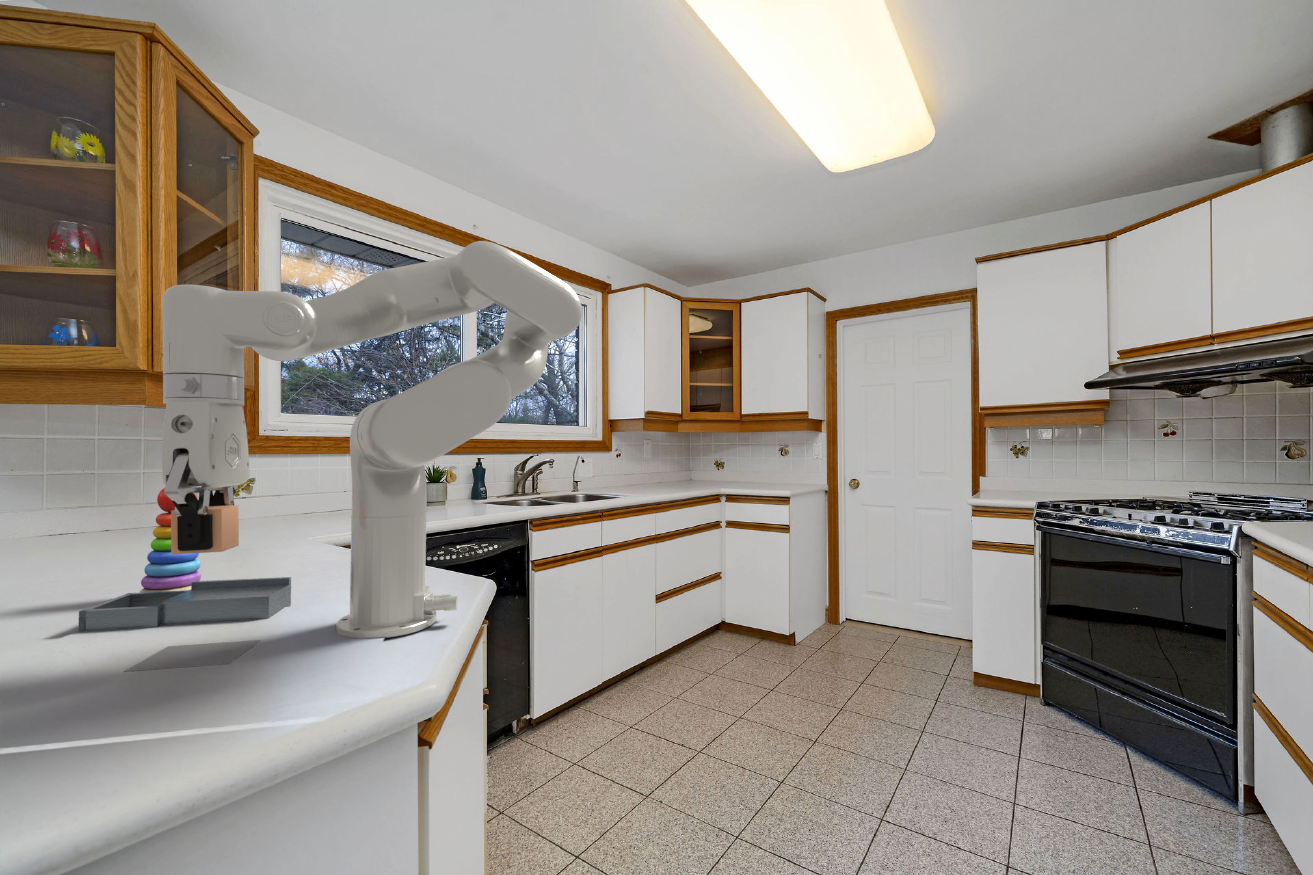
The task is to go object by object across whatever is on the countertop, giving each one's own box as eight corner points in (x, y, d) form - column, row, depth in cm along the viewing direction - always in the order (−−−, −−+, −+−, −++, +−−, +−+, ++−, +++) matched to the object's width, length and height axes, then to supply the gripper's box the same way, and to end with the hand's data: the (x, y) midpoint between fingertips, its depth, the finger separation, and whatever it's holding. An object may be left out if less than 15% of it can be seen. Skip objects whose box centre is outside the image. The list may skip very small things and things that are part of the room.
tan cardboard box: (238, 545, 69) (238, 505, 69) (221, 551, 65) (221, 508, 65) (191, 548, 67) (190, 506, 67) (171, 554, 64) (171, 510, 64)
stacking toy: (165, 605, 87) (168, 485, 88) (125, 602, 89) (128, 484, 89) (214, 592, 95) (217, 483, 95) (176, 589, 97) (179, 482, 97)
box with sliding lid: (292, 604, 88) (293, 575, 88) (266, 622, 79) (266, 590, 79) (127, 613, 83) (128, 583, 83) (78, 634, 73) (79, 600, 74)
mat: (261, 642, 71) (261, 639, 71) (229, 666, 63) (229, 663, 63) (168, 649, 68) (168, 646, 68) (123, 675, 60) (123, 671, 60)
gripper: (203, 385, 59) (205, 558, 59) (271, 398, 75) (272, 533, 75) (118, 385, 57) (119, 563, 57) (206, 398, 73) (207, 536, 73)
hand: (206, 544), depth 66 cm, fingers closed on tan cardboard box, 4 cm apart
